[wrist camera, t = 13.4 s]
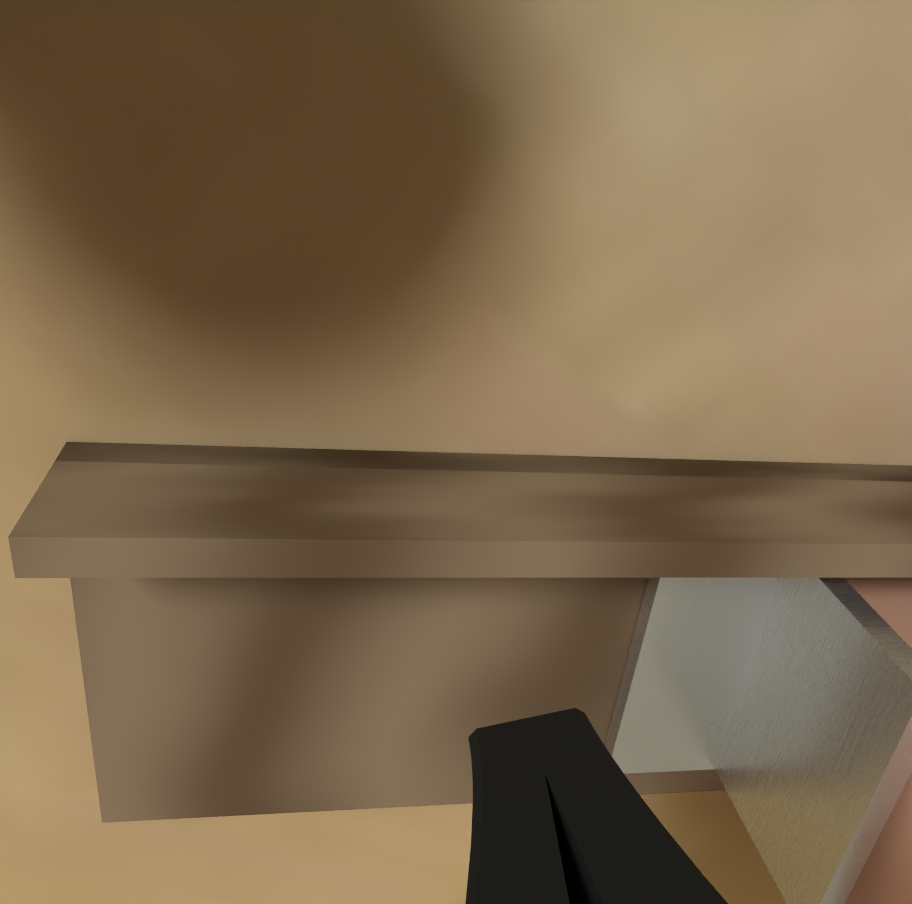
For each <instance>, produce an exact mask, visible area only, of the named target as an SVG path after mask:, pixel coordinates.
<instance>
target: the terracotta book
mask: <svg viewBox="0 0 912 904" xmlns="http://www.w3.org/2000/svg"><path fill="white" fill-rule="evenodd" d="M844 579H845V580H846V581H847V582H848V583H849V584H850V585H851V586H852V587H853V588H854V589H855V590H856V591H857V592H858V593H859V594H860V595H861V596H862V597H863V598H864V599H865V600H866V602H867V603H868V604H869V605H870V606H871V607H872V608H873V609H874V610H875V611H876V612H877V613H878V614H879V615H880V616H881V617H882V618H883V619H884V620H885V621H886V622H887V623H888V624H889V626H890V627H891V628H892V629H893V630H894V631H895V632H896V633H897V634H898V635H899V636H900V637H901V638H902V639H903V640H904V641H905V642H906V643H907V644H908V645H909V646H910V647H911V648H912V578H844ZM845 904H912V773H911V775H910V776H909V778H908V780H907V782H906V784H905V786H904V788H903V790H902V792H901V794H900V796H899V798H898V800H897V802H896V804H895V806H894V808H893V810H892V812H891V814H890V816H889V818H888V820H887V822H886V824H885V826H884V828H883V830H882V832H881V834H880V835H879V837H878V839H877V841H876V843H875V845H874V847H873V849H872V851H871V853H870V855H869V857H868V859H867V861H866V863H865V865H864V867H863V869H862V871H861V873H860V875H859V877H858V879H857V881H856V883H855V885H854V887H853V889H852V891H851V893H850V894H849V896H848V898H847V900H846V902H845Z"/></svg>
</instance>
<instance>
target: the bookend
mask: <svg viewBox="0 0 912 904" xmlns="http://www.w3.org/2000/svg"><path fill="white" fill-rule="evenodd" d="M605 747H606V748H607V750H608V751H609V753H610V754H611V756H612V757H613V759H614V760H615V762H616V763H617V764H618V766H619V767H620V769H621V770H622V772H623V773H624V774H625V773H647V772H668V771H689V770H710V769H714V770H715V771H716V773H717V775H718V777H719V779H720V781H721V783H722V785H723V786H724V788H725V790H726V792H727V794H728V796H729V798H730V799H731V801H732V803H733V805H734V807H735V809H736V811H737V813H738V814H739V816H740V818H741V820H742V822H743V824H744V826H745V828H746V829H747V831H748V833H749V835H750V837H751V839H752V841H753V843H754V844H755V846H756V848H757V850H758V852H759V854H760V856H761V857H762V859H763V861H764V863H765V865H766V867H767V869H768V871H769V872H770V874H771V876H772V878H773V880H774V882H775V884H776V886H777V887H778V889H779V891H780V893H781V895H782V897H783V899H784V900H785V902H786V904H845V902H846V900H847V898H848V896H849V894H850V893H851V891H852V889H853V887H854V885H855V883H856V881H857V879H858V877H859V875H860V873H861V871H862V869H863V867H864V865H865V863H866V861H867V859H868V857H869V855H870V853H871V851H872V849H873V847H874V845H875V843H876V841H877V839H878V837H879V835H880V834H881V832H882V830H883V828H884V826H885V824H886V822H887V820H888V818H889V816H890V814H891V812H892V810H893V808H894V806H895V804H896V802H897V800H898V798H899V796H900V794H901V792H902V790H903V788H904V786H905V784H906V782H907V780H908V778H909V776H910V775H911V773H912V648H911V647H910V646H909V645H908V644H907V643H906V642H905V641H904V640H903V639H902V638H901V637H900V636H899V635H898V634H897V633H896V632H895V631H894V630H893V629H892V628H891V627H890V626H889V624H888V623H887V622H886V621H885V620H884V619H883V618H882V617H881V616H880V615H879V614H878V613H877V612H876V611H875V610H874V609H873V608H872V607H871V606H870V605H869V604H868V603H867V602H866V600H865V599H864V598H863V597H862V596H861V595H860V594H859V593H858V592H857V591H856V590H855V589H854V588H853V587H852V586H851V585H850V584H849V583H848V582H847V581H846V580H845V579H844V578H648V582H647V586H646V589H645V593H644V597H643V601H642V605H641V608H640V612H639V616H638V620H637V624H636V627H635V631H634V635H633V639H632V643H631V647H630V650H629V654H628V658H627V662H626V666H625V669H624V673H623V677H622V681H621V685H620V688H619V692H618V696H617V700H616V704H615V707H614V711H613V715H612V719H611V723H610V726H609V730H608V734H607V738H606V742H605Z"/></svg>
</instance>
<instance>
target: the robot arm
mask: <svg viewBox="0 0 912 904" xmlns="http://www.w3.org/2000/svg"><path fill="white" fill-rule="evenodd" d="M468 739H469V746H470V752H471V761H472V779H473V812H472V837H471V851H470V862H469V873H468V884H467V895H466V904H728V903H727V902H726V901H725V900H724V899H723V897H722V896H721V895H720V894H719V893H718V892H717V891H716V889H715V888H714V887H713V886H712V885H711V884H710V882H709V881H708V880H707V879H706V878H705V877H704V875H703V874H702V873H701V872H700V871H699V869H698V868H697V867H696V866H695V864H694V863H693V862H692V861H691V860H690V858H689V857H688V856H687V855H686V853H685V852H684V851H683V850H682V849H681V847H680V846H679V845H678V844H677V842H676V841H675V840H674V839H673V837H672V836H671V835H670V834H669V833H668V831H667V830H666V829H665V828H664V826H663V825H662V824H661V823H660V821H659V820H658V819H657V817H656V816H655V815H654V814H653V812H652V811H651V810H650V808H649V807H648V806H647V804H646V803H645V802H644V800H643V799H642V798H641V796H640V795H639V794H638V792H637V791H636V790H635V788H634V787H633V785H632V784H631V783H630V781H629V780H628V779H627V777H626V776H625V774H624V773H623V772H622V770H621V769H620V767H619V766H618V764H617V763H616V762H615V760H614V759H613V757H612V756H611V754H610V753H609V751H608V750H607V748H606V747H605V745H604V744H603V742H602V740H601V739H600V737H599V736H598V734H597V733H596V731H595V729H594V728H593V726H592V724H591V723H590V721H589V719H588V717H587V716H586V714H585V713H584V712H582V711H581V710H579V709H577V708H572V709H567V710H562V711H557V712H553V713H548V714H543V715H538V716H534V717H529V718H524V719H519V720H515V721H510V722H505V723H500V724H496V725H491V726H486V727H481V728H477V729H476V730H475V731H474V732H473V733H472V734H471V735H470V736H469V737H468Z"/></svg>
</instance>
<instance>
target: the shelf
mask: <svg viewBox="0 0 912 904" xmlns="http://www.w3.org/2000/svg"><path fill="white" fill-rule="evenodd" d="M8 538H9V544H10V550H11V556H12V561H13V567H14V573H15V578H70V579H71V587H72V594H73V602H74V610H75V617H76V625H77V633H78V640H79V648H80V656H81V663H82V671H83V679H84V687H85V694H86V702H87V710H88V717H89V725H90V733H91V740H92V748H93V756H94V763H95V771H96V779H97V786H98V794H99V802H100V809H101V817H102V823H103V822H122V821H141V820H160V819H180V818H199V817H218V816H237V815H256V814H275V813H294V812H313V811H333V810H352V809H371V808H390V807H409V806H428V805H447V804H466V803H473V779H472V761H471V752H470V746H469V739H468V737H469V736H470V735H471V734H472V733H473V732H474V731H475V730H476V729H477V728H481V727H486V726H491V725H496V724H500V723H505V722H510V721H515V720H519V719H524V718H529V717H534V716H538V715H543V714H548V713H553V712H557V711H562V710H567V709H572V708H577V709H579V710H581V711H582V712H584V713H585V714H586V716H587V717H588V719H589V721H590V723H591V724H592V726H593V728H594V729H595V731H596V733H597V734H598V736H599V737H600V739H601V740H602V742H603V744H604V745H605V742H606V738H607V734H608V730H609V726H610V723H611V719H612V715H613V711H614V707H615V704H616V700H617V696H618V692H619V688H620V685H621V681H622V677H623V673H624V669H625V666H626V662H627V658H628V654H629V650H630V647H631V643H632V639H633V635H634V631H635V627H636V624H637V620H638V616H639V612H640V608H641V605H642V601H643V597H644V593H645V589H646V586H647V582H648V578H912V466H897V465H861V464H826V463H791V462H756V461H720V460H685V459H650V458H614V457H579V456H544V455H509V454H473V453H438V452H403V451H367V450H332V449H297V448H261V447H226V446H191V445H156V444H120V443H85V442H67V443H66V444H65V446H64V447H63V449H62V451H61V452H60V454H59V456H58V457H57V459H56V460H55V462H54V464H53V465H52V467H51V469H50V470H49V472H48V473H47V475H46V477H45V478H44V480H43V482H42V483H41V485H40V486H39V488H38V490H37V491H36V493H35V495H34V496H33V498H32V499H31V501H30V503H29V504H28V506H27V508H26V509H25V511H24V512H23V514H22V516H21V517H20V519H19V521H18V522H17V524H16V525H15V527H14V529H13V530H12V532H11V534H10V535H9V537H8ZM625 776H626V777H627V779H628V780H629V781H630V783H631V784H632V785H633V787H634V788H635V790H636V791H637V792H638V794H658V793H677V792H696V791H715V790H725V788H724V786H723V785H722V783H721V781H720V779H719V777H718V775H717V773H716V771H715V770H714V769H710V770H689V771H668V772H647V773H625Z"/></svg>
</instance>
